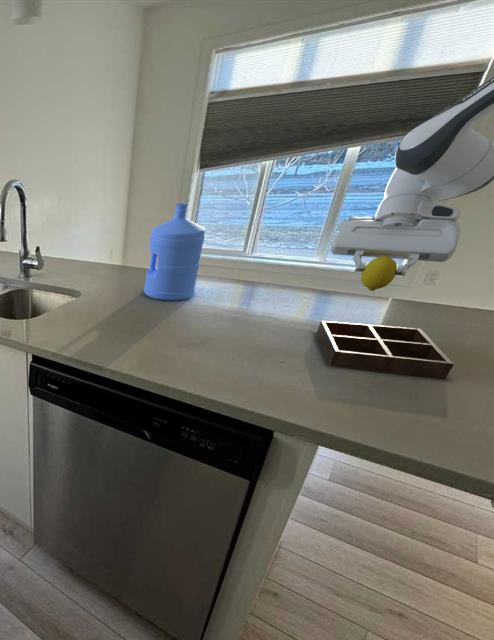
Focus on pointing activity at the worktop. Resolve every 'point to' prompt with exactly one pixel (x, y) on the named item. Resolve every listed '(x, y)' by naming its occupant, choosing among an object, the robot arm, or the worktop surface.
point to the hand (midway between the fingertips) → (379, 272)
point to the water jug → (174, 257)
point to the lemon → (379, 273)
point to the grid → (382, 349)
